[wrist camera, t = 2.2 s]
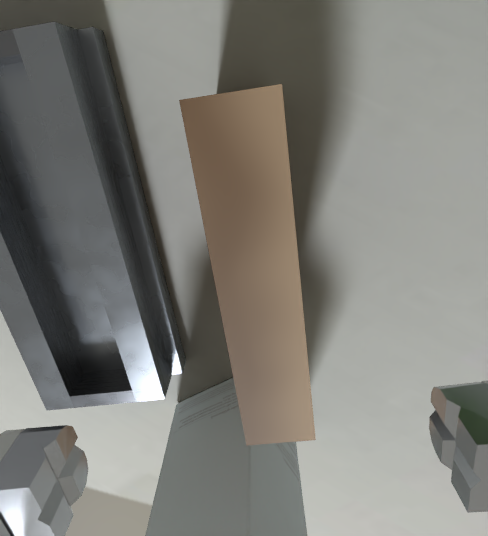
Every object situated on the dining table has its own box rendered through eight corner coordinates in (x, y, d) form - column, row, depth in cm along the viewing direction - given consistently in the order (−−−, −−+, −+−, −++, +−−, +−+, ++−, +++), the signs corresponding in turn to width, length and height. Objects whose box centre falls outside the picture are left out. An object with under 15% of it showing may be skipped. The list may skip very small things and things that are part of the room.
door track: (103, 31, 21) (71, 18, 17) (185, 360, 30) (176, 398, 26) (-69, 61, 22) (-133, 55, 18) (61, 373, 31) (35, 411, 27)
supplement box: (173, 402, 32) (128, 578, 20) (252, 366, 30) (251, 536, 19) (221, 458, 34) (205, 644, 23) (297, 428, 33) (320, 612, 21)
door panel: (268, 87, 22) (282, 84, 11) (291, 302, 28) (315, 439, 17) (216, 95, 22) (179, 99, 11) (249, 307, 28) (246, 445, 17)
